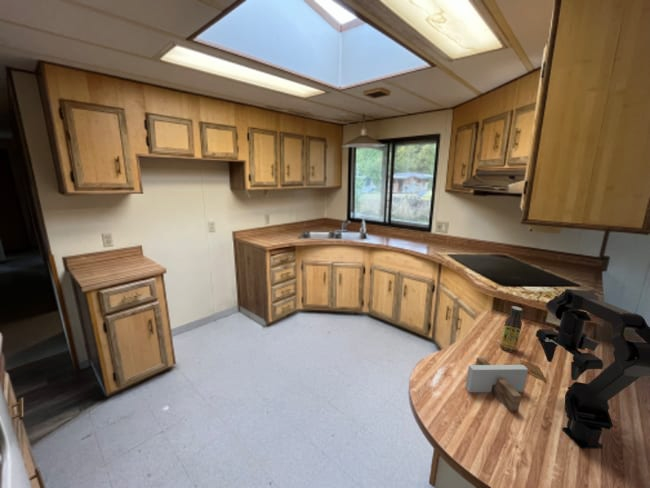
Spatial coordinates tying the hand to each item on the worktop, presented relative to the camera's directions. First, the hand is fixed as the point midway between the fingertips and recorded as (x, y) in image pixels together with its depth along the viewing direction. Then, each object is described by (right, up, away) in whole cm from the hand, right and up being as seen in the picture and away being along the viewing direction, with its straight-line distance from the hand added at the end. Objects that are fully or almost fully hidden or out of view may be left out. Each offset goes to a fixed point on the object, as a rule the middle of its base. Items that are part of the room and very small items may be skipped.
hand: (561, 370), depth 93 cm
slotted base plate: (-18, -10, +7) cm, 22 cm away
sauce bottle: (+4, -5, +33) cm, 34 cm away
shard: (+5, -9, +19) cm, 21 cm away
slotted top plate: (-18, -10, +7) cm, 22 cm away
